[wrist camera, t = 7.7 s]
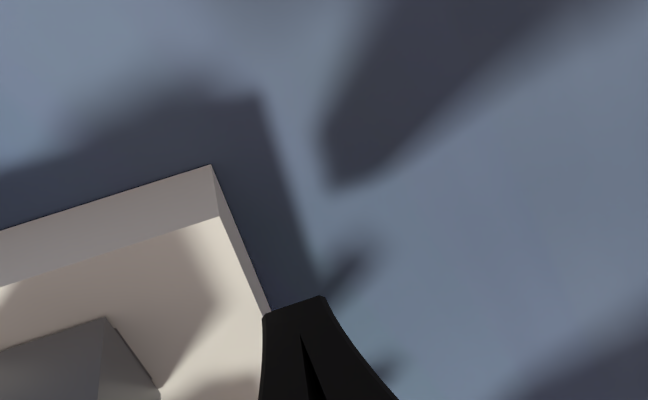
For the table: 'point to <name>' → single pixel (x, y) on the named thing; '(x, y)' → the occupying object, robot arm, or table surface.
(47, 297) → the switch panel
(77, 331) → the knob
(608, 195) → the table surface
